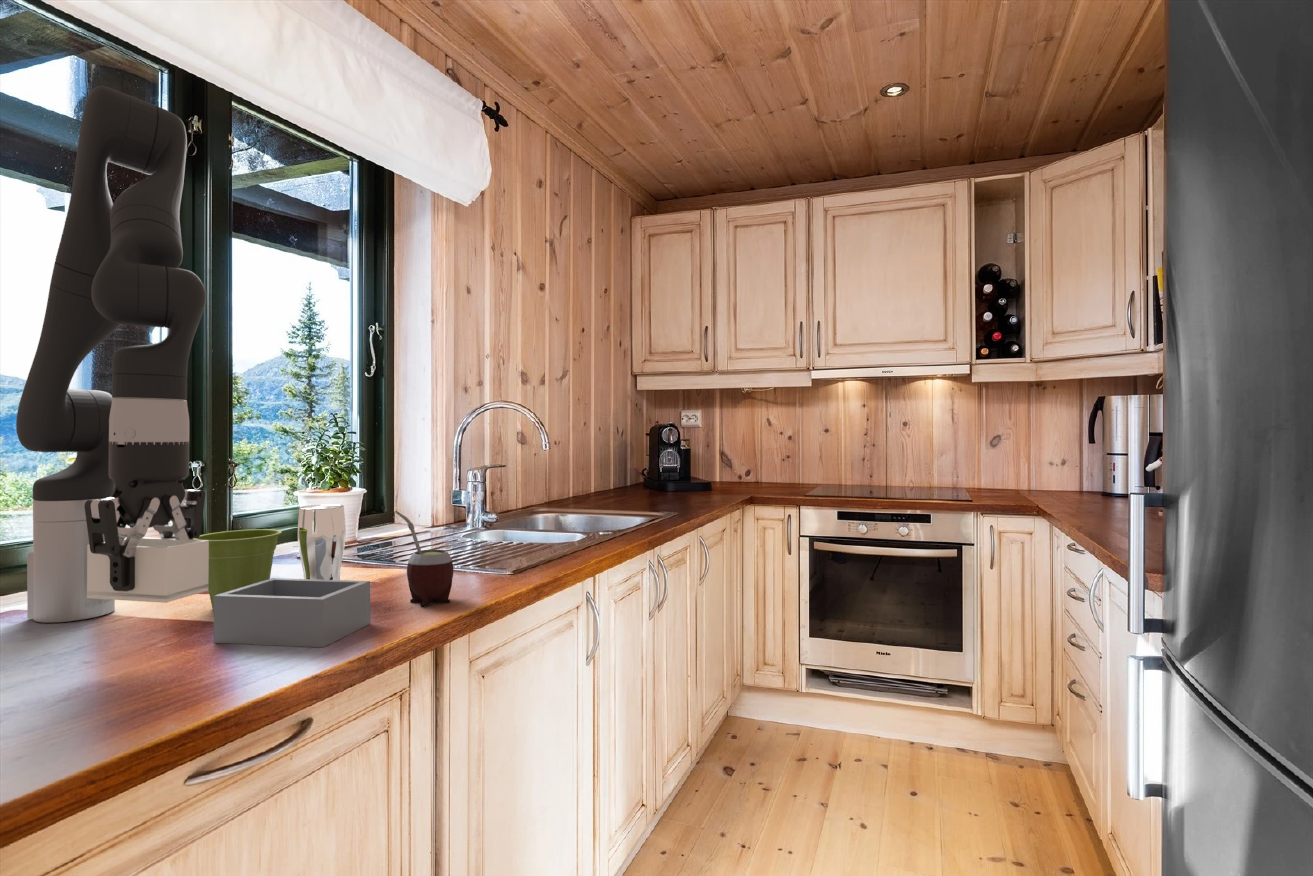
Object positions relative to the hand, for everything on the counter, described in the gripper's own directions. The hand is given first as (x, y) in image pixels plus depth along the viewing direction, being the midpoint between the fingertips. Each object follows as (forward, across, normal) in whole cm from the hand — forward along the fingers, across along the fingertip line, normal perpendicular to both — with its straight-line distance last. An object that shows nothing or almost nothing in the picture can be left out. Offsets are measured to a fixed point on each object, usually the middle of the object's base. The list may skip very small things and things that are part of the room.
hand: (149, 583), depth 81 cm
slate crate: (+9, -14, +8) cm, 19 cm away
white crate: (+1, 0, 0) cm, 1 cm away
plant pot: (+10, -26, -10) cm, 29 cm away
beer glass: (+10, -32, 0) cm, 34 cm away
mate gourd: (+9, -32, +18) cm, 38 cm away
